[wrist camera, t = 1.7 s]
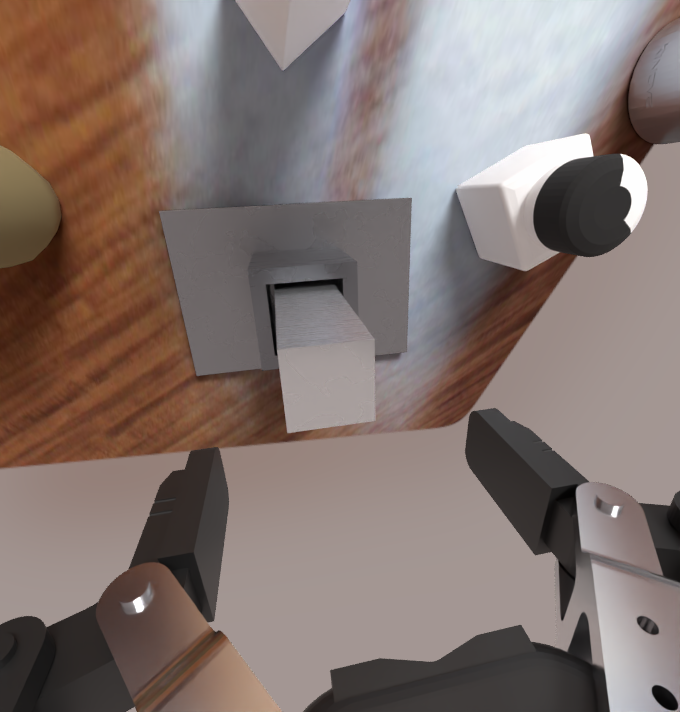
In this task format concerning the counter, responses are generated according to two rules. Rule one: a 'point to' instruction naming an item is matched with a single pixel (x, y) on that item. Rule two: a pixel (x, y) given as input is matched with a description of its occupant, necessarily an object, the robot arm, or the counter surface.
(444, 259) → the counter surface
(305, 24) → the milk
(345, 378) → the column
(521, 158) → the medicine bottle
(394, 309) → the stand
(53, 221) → the squeeze bottle
